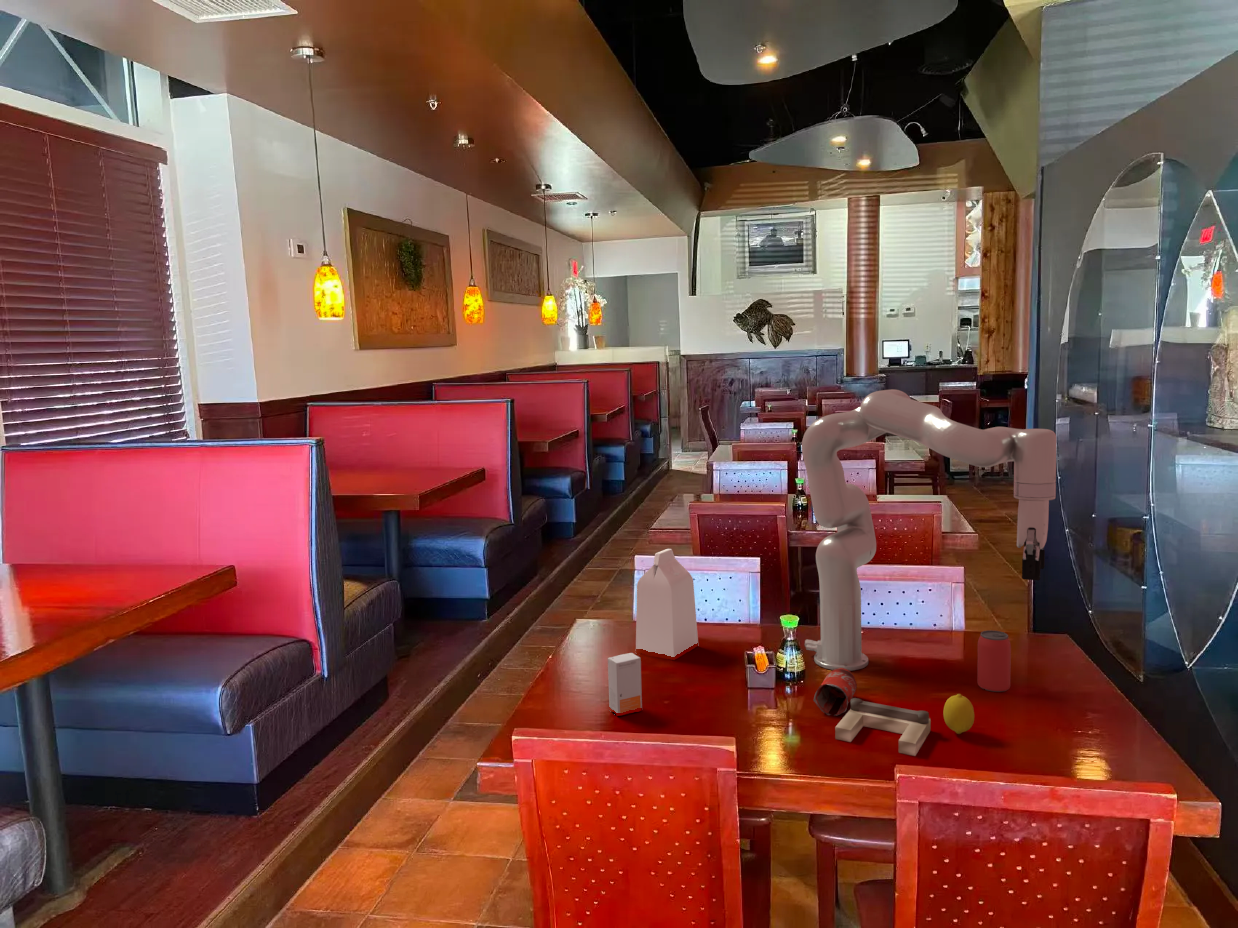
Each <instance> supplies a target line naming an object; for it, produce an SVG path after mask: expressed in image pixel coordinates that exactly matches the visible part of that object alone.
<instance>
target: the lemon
mask: <svg viewBox="0 0 1238 928" xmlns="http://www.w3.org/2000/svg"><path fill="white" fill-rule="evenodd" d="M942 715H943V719H944V722H945V724H946V726H947V727H948V728H949V729H950V730H951V731H953V732H955V733H956V734H957V735H961V734H963V733H965V732H967V731H969V730H970V729H971V728H972V726H973V724H974V721H975V710H974V706H973V704H972V702H971V701H970V700H969V699H968V698H967V697H966V696H963V695H962V694H961V693H956V694H955V695H951V696H950V697H949V698H947V700H946V702H945V703H944V706H943V714H942Z"/></svg>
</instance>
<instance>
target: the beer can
mask: <svg viewBox="0 0 1238 928" xmlns="http://www.w3.org/2000/svg"><path fill="white" fill-rule="evenodd" d="M1011 645H1012V644H1011V641H1010V639H1009V634H1007V633H1006V632H1004V631H1000V630H993V629H990V630H983V631H981V632H980V636H979V638H978V641H977V676H976V677H977V678H976V679H977V683H976V684H977V686H978V687H980V688H981V689H982V690H984V689H985V691H989V692H994V693H1003V692H1006V691H1009V689H1010V688H1011V672H1012V671H1011V670H1012V669H1011V666H1012V663H1011V659H1012V654H1011V653H1012V646H1011Z"/></svg>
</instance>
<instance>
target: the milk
mask: <svg viewBox="0 0 1238 928" xmlns="http://www.w3.org/2000/svg"><path fill="white" fill-rule="evenodd" d="M675 556H676V555H674V551H673V549H672V548H666V549H663V550H661V551H658V552H656V553H655V554H654V559H653V565H652V566H651V567H649V569H647V571H646V572H644V574H642V576H641V577H640V578H639V579H638V581H637V584H636V613H635V614H636V617H635V618H636V619H635V622H636V623H635V631H636V632H635V650H636V649H643V650H646V651H648V652H655V653H658V654H665V655H667V656H671V657H675V656H676V655H677V654H680V653H681V652H683V651H684V650H686V649H688V648H689V647H691V646H693V645H694V644H697V643H698V644H699V635H698V624H697V622H698V621H697V614H696V613H697V610H696V609H697V608H696V597H695V586H694V584H695V583H694V578H693V576H692V575H691V573H690V572H689V571H688V570H687V569H686V568H685V567H684V565H682V563H680V562H679V561H678V559H676V557H675Z"/></svg>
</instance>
